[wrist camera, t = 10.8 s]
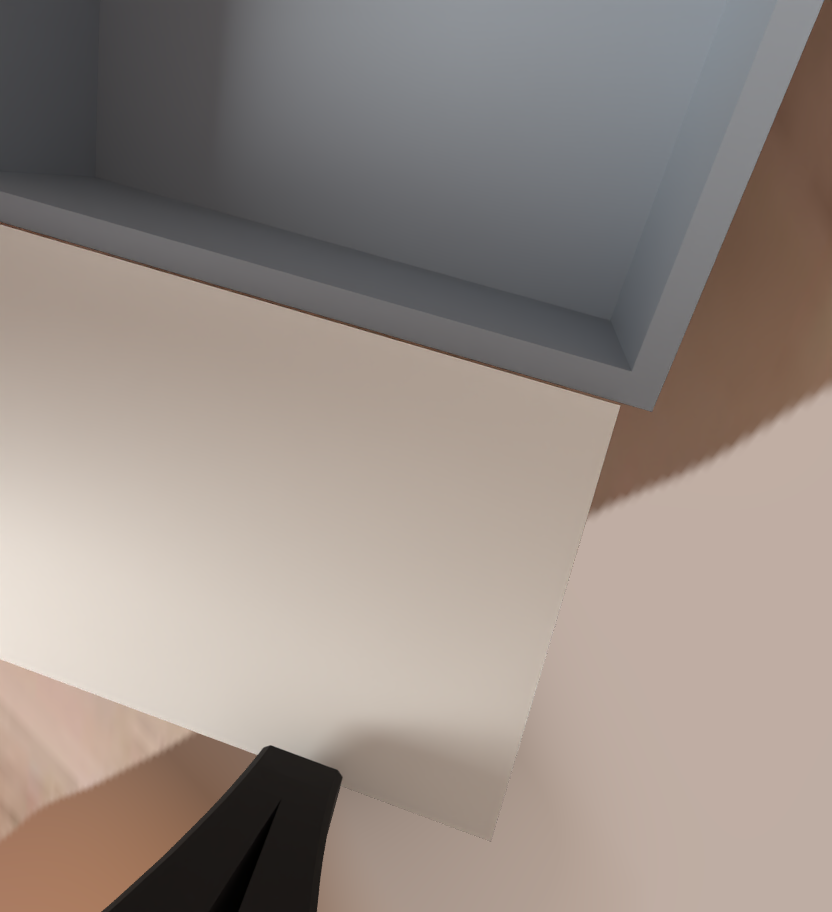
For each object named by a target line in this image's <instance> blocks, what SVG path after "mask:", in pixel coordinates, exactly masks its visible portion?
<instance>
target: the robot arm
mask: <svg viewBox="0 0 832 912" xmlns="http://www.w3.org/2000/svg"><path fill="white" fill-rule="evenodd" d="M342 778H343V777H342V775H341V774H340V772H339V771H338V770H337V769H334V768H331V767H328V766H326V765H323V764H320V763H318V762H315V761H312V760H310V759H307V758H304V757H301V756H299V755H296V754H293V753H291V752H288V751H285V750H282V749H280V748H277V747H274V746H272V745H269V746H266V747H263V749H262V750H261V751H260V752H259V754H258V755H257V757H256V758H255V759H254V760H253V762H252V763H251V764H250V765H249V767H248V768H247V769H246V770H245V771H244V772H243V773H242V775H241V776H240V777H239V778H238V779H237V780H236V782H235V783H234V784H233V785H232V786H231V787H230V788H229V789H228V790H227V792H226V793H225V794H224V795H223V796H222V797H221V798H220V799H219V800H218V801H217V803H215V804H214V806H213V807H212V808H211V809H210V810H209V811H208V812H207V813H206V814H205V815H204V816H203V817H202V818H201V819H200V820H199V821H198V822H197V823H196V824H195V825H194V826H193V827H192V828H191V829H190V830H189V831H188V832H187V833H186V834H185V835H184V836H183V837H182V838H181V839H180V840H179V841H178V842H177V843H176V844H175V845H174V846H173V847H172V848H171V849H170V850H169V851H168V852H167V853H166V854H165V855H164V856H163V857H162V858H161V859H160V860H158V862H156V863H155V864H154V865H153V866H152V867H151V868H150V869H149V870H148V871H146V872H145V873H144V874H143V875H142V876H141V877H140V878H139V879H138V880H137V881H135V882H134V884H132V885H131V886H130V887H129V888H128V889H127V890H126V891H124V892H123V893H122V894H121V895H120V896H119V897H118V898H117V899H116V900H114V902H112V903H111V904H110V905H109V906H108V907H107V908H105V909H104V910H103V911H102V912H317V904H318V895H319V885H320V876H321V869H322V861H323V855H324V849H325V843H326V838H327V834H328V830H329V826H330V823H331V819H332V815H333V812H334V808H335V804H336V800H337V797H338V793H339V789H340V786H341V782H342Z"/></svg>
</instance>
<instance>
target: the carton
mask: <svg viewBox="0 0 832 912" xmlns="http://www.w3.org/2000/svg"><path fill="white" fill-rule="evenodd" d="M823 2H824V0H0V222H2V223H6V224H9V225H13V226H16V227H20V228H23V229H26V230H30V231H33V232H37V233H40V234H44V235H47V236H51V237H54V238H57V239H61V240H64V241H68V242H71V243H75V244H78V245H81V246H85V247H88V248H92V249H95V250H99V251H102V252H105V253H109V254H112V255H116V256H119V257H123V258H126V259H129V260H133V261H136V262H140V263H143V264H147V265H150V266H153V267H157V268H160V269H164V270H167V271H171V272H174V273H177V274H181V275H184V276H188V277H191V278H195V279H198V280H201V281H205V282H208V283H212V284H215V285H219V286H222V287H225V288H229V289H232V290H236V291H239V292H243V293H246V294H249V295H253V296H256V297H260V298H263V299H267V300H270V301H273V302H277V303H280V304H284V305H287V306H291V307H294V308H297V309H301V310H304V311H308V312H311V313H315V314H318V315H321V316H325V317H328V318H332V319H335V320H339V321H342V322H345V323H349V324H352V325H356V326H359V327H363V328H366V329H369V330H373V331H376V332H380V333H383V334H387V335H390V336H393V337H397V338H400V339H404V340H407V341H411V342H414V343H417V344H421V345H424V346H428V347H431V348H435V349H438V350H441V351H445V352H448V353H452V354H455V355H459V356H462V357H465V358H469V359H472V360H476V361H479V362H483V363H486V364H489V365H493V366H496V367H500V368H503V369H507V370H510V371H513V372H517V373H520V374H524V375H527V376H531V377H534V378H537V379H541V380H544V381H548V382H551V383H555V384H558V385H561V386H565V387H568V388H572V389H575V390H579V391H582V392H585V393H589V394H592V395H596V396H599V397H603V398H606V399H609V400H613V401H616V402H620V403H623V404H627V405H630V406H633V407H637V408H640V409H644V410H647V411H651V412H652V411H653V408H654V406H655V403H656V401H657V399H658V396H659V394H660V392H661V389H662V387H663V384H664V382H665V380H666V377H667V375H668V372H669V370H670V368H671V365H672V363H673V360H674V358H675V356H676V353H677V351H678V348H679V346H680V344H681V341H682V339H683V336H684V334H685V332H686V329H687V327H688V325H689V322H690V320H691V317H692V315H693V313H694V310H695V308H696V305H697V303H698V301H699V298H700V296H701V293H702V291H703V289H704V286H705V284H706V281H707V279H708V277H709V274H710V272H711V270H712V267H713V265H714V262H715V260H716V258H717V255H718V253H719V250H720V248H721V246H722V243H723V241H724V238H725V236H726V234H727V231H728V229H729V226H730V224H731V222H732V219H733V217H734V215H735V212H736V210H737V207H738V205H739V203H740V200H741V198H742V195H743V193H744V191H745V188H746V186H747V183H748V181H749V179H750V176H751V174H752V171H753V169H754V167H755V164H756V162H757V160H758V157H759V155H760V152H761V150H762V148H763V145H764V143H765V140H766V138H767V136H768V133H769V131H770V128H771V126H772V124H773V121H774V119H775V116H776V114H777V112H778V109H779V107H780V105H781V102H782V100H783V97H784V95H785V93H786V90H787V88H788V85H789V83H790V81H791V78H792V76H793V73H794V71H795V69H796V66H797V64H798V61H799V59H800V57H801V54H802V52H803V50H804V47H805V45H806V42H807V40H808V38H809V35H810V33H811V30H812V28H813V26H814V23H815V21H816V18H817V16H818V14H819V11H820V9H821V6H822V4H823Z"/></svg>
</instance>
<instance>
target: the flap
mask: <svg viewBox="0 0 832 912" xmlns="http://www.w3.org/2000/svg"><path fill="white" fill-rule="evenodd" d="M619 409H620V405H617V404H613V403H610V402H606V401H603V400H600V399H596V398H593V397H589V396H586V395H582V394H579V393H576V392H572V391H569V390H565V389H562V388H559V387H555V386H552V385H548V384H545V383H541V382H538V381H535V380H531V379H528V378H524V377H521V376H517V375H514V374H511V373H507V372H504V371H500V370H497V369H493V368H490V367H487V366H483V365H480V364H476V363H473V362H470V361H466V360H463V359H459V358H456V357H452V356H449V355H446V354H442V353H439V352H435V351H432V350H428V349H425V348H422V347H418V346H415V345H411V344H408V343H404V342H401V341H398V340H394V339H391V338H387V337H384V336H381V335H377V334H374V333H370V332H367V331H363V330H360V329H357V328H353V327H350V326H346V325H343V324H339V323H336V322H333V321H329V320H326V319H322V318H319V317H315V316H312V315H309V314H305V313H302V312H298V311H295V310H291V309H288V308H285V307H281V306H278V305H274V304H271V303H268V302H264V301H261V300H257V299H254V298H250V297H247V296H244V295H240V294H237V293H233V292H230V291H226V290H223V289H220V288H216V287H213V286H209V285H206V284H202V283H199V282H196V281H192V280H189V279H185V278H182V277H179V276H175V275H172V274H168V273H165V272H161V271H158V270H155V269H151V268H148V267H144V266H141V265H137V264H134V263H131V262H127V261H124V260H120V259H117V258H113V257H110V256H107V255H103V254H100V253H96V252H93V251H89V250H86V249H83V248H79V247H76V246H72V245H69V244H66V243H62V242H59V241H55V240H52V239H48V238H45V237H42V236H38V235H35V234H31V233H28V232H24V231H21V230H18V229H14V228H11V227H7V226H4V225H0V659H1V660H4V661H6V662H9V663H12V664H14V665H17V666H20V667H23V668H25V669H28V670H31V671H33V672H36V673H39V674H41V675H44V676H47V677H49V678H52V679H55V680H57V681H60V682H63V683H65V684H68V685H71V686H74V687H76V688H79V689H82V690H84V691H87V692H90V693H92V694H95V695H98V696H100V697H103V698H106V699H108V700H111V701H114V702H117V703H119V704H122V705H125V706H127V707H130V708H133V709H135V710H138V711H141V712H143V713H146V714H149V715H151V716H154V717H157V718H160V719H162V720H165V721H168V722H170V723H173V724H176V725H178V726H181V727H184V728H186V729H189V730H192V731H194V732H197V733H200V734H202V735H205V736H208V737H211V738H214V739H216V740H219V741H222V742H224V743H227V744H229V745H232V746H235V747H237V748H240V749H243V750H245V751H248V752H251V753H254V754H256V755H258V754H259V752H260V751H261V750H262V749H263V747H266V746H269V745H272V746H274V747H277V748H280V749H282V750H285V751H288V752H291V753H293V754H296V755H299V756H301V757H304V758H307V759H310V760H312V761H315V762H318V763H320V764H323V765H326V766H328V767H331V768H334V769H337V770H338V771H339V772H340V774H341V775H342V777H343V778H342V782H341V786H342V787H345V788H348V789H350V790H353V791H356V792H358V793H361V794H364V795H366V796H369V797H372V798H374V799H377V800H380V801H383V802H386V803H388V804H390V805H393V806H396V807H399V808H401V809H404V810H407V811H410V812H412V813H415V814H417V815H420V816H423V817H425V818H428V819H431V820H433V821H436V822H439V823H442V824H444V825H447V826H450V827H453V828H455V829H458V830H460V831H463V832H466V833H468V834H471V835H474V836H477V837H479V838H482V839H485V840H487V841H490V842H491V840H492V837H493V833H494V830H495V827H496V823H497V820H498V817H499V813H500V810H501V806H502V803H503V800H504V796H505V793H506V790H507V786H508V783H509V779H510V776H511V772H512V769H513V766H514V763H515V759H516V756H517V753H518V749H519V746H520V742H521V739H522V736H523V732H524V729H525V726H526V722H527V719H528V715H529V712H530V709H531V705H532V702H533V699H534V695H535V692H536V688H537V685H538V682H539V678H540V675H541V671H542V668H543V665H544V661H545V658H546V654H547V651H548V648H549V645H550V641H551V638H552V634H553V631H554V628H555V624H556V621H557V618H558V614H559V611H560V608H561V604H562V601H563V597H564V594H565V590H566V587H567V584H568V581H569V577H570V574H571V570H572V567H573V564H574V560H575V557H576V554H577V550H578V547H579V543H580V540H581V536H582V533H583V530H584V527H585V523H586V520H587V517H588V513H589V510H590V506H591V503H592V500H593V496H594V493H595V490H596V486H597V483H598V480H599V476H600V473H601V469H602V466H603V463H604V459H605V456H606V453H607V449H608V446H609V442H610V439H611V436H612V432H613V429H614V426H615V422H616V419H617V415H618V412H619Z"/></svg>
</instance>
